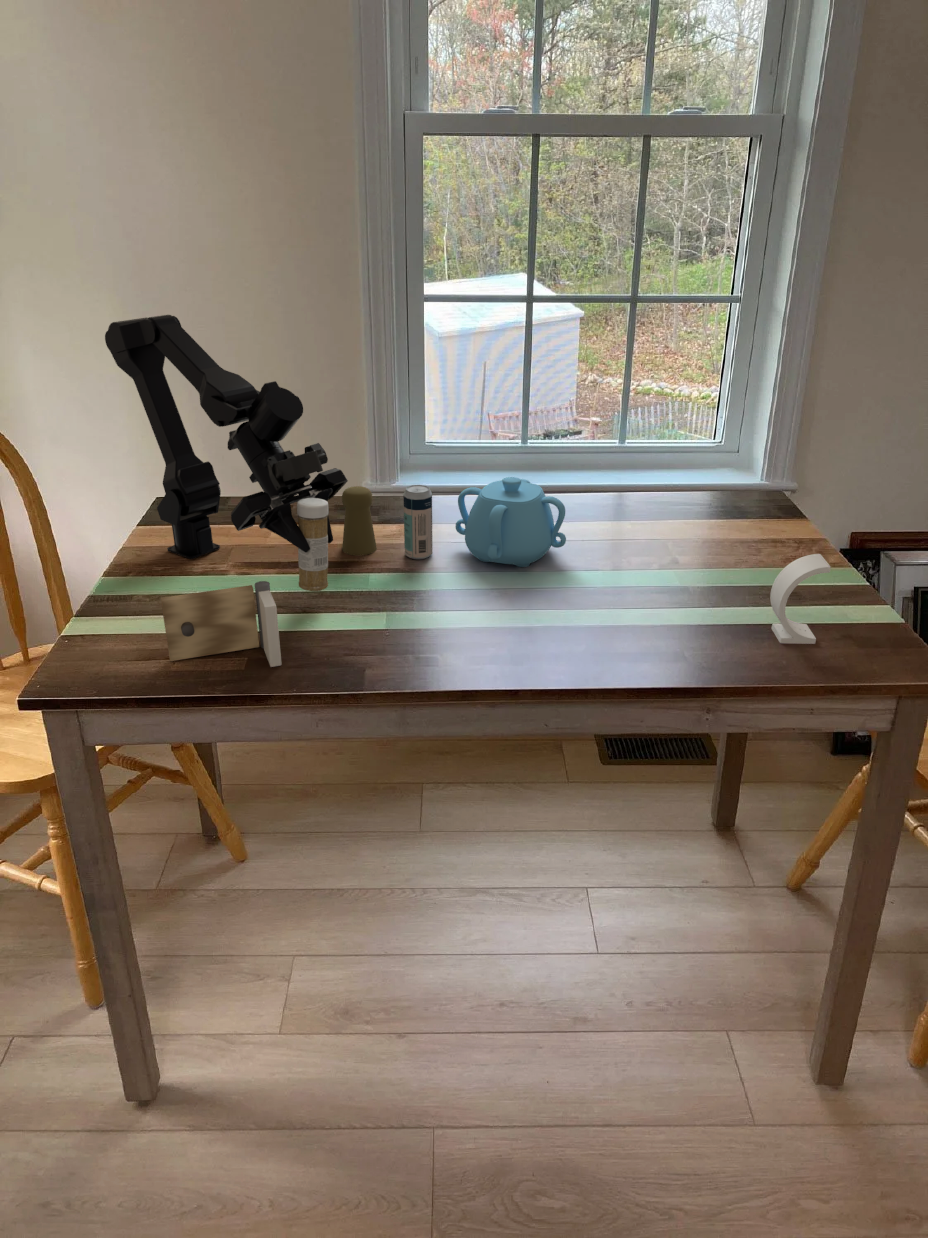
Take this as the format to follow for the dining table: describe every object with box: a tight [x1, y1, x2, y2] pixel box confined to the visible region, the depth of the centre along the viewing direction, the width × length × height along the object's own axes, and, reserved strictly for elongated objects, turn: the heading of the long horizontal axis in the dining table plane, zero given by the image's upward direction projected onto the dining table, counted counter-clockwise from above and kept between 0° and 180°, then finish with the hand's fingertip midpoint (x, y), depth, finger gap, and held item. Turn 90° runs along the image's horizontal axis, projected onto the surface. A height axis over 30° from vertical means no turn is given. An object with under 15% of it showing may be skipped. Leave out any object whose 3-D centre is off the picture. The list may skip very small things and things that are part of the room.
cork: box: [341, 485, 378, 556], centre depth 162 cm, size 6×6×11 cm
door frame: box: [254, 580, 283, 668], centre depth 128 cm, size 7×2×10 cm, turn 21°
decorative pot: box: [454, 476, 567, 568], centre depth 159 cm, size 16×16×14 cm
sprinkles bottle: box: [296, 498, 329, 592], centre depth 140 cm, size 5×5×13 cm
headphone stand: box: [769, 553, 832, 645], centre depth 134 cm, size 5×6×12 cm
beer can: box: [402, 484, 434, 560], centre depth 159 cm, size 5×5×12 cm
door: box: [160, 584, 260, 662], centre depth 128 cm, size 12×2×9 cm, turn 111°
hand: (319, 546), depth 140 cm, fingers closed on sprinkles bottle, 4 cm apart
